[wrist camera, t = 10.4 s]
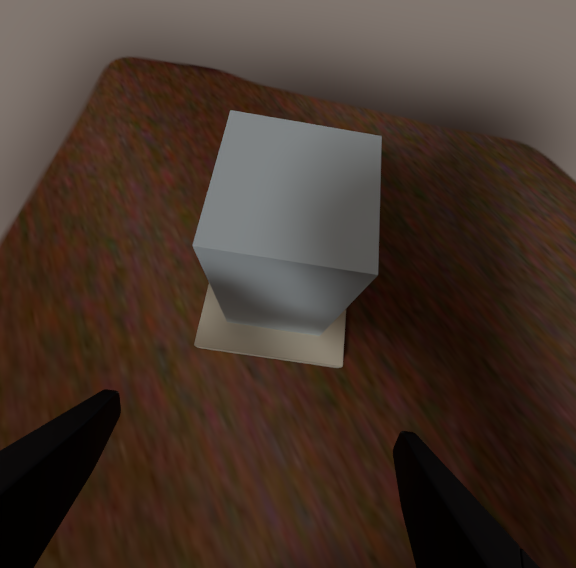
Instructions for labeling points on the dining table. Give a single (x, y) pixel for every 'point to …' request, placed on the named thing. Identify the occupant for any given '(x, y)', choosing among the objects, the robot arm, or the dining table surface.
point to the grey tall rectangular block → (290, 222)
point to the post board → (269, 338)
